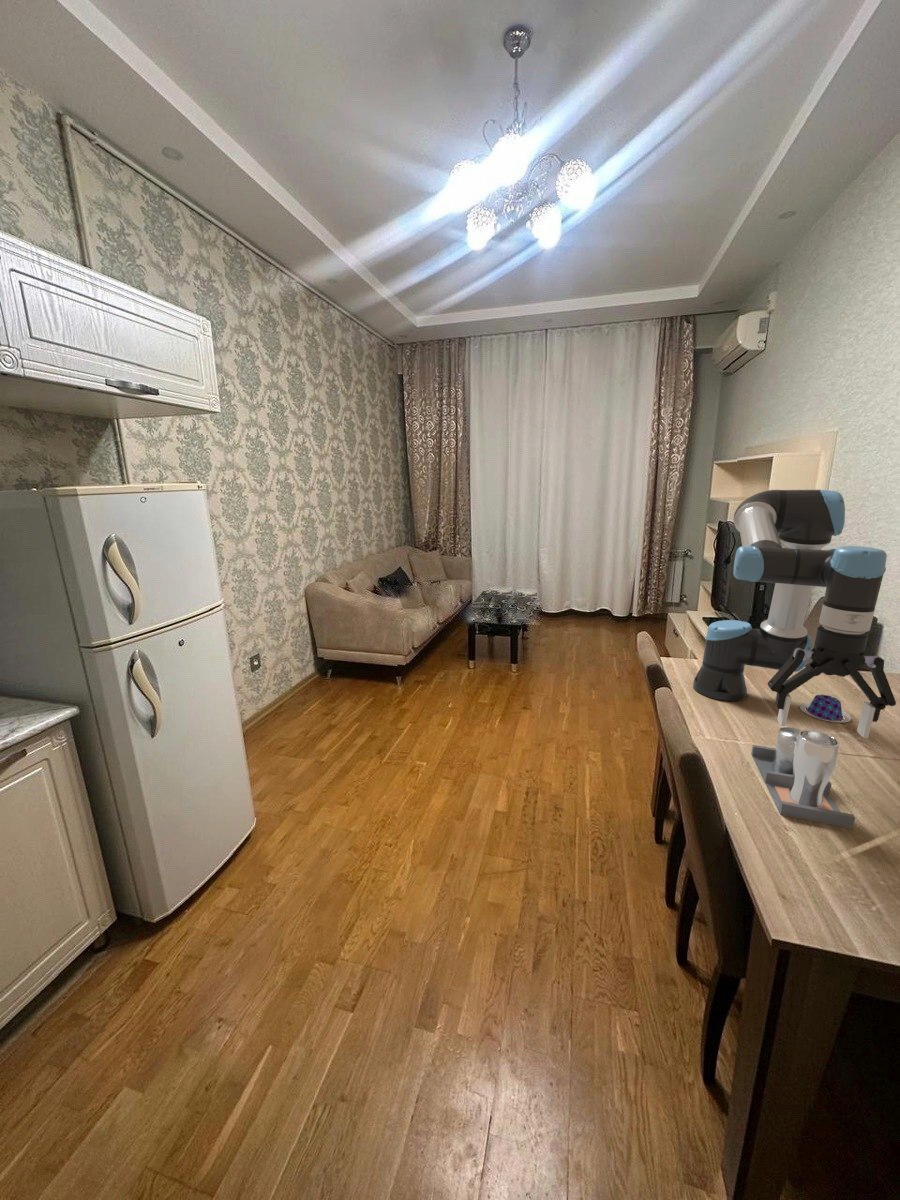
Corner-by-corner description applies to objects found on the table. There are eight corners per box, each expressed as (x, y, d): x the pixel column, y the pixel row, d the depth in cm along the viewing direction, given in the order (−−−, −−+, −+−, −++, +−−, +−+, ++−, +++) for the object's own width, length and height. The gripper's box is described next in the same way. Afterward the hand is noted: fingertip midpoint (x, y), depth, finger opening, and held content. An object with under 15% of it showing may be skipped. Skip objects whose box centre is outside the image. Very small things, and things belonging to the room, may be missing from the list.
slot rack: (750, 756, 116) (752, 744, 115) (808, 766, 112) (810, 754, 111) (779, 817, 95) (782, 803, 94) (851, 832, 91) (855, 817, 90)
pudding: (862, 724, 132) (866, 707, 131) (821, 725, 131) (825, 708, 130) (826, 704, 144) (829, 688, 142) (789, 705, 143) (792, 689, 142)
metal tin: (765, 768, 110) (773, 730, 107) (783, 762, 112) (791, 725, 109) (791, 783, 104) (800, 743, 102) (809, 777, 106) (818, 738, 104)
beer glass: (777, 795, 100) (789, 732, 96) (797, 787, 103) (810, 726, 99) (812, 816, 94) (827, 750, 90) (833, 807, 96) (848, 742, 93)
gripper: (772, 627, 89) (754, 727, 95) (939, 642, 81) (909, 750, 87) (761, 617, 96) (745, 710, 101) (914, 629, 88) (888, 730, 93)
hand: (820, 728), depth 94 cm, fingers open, 13 cm apart
